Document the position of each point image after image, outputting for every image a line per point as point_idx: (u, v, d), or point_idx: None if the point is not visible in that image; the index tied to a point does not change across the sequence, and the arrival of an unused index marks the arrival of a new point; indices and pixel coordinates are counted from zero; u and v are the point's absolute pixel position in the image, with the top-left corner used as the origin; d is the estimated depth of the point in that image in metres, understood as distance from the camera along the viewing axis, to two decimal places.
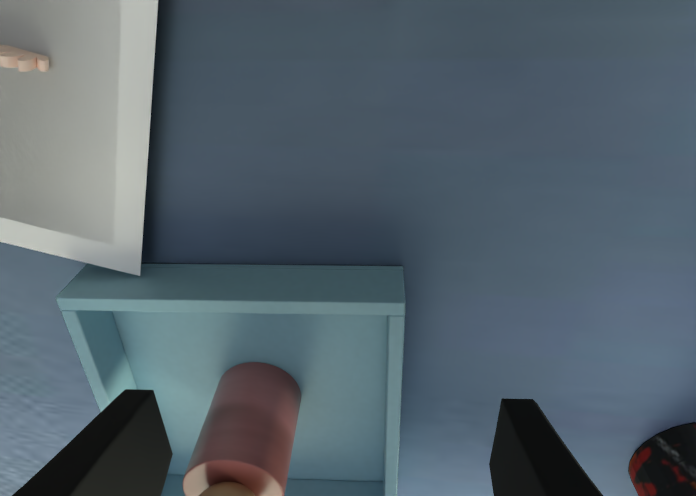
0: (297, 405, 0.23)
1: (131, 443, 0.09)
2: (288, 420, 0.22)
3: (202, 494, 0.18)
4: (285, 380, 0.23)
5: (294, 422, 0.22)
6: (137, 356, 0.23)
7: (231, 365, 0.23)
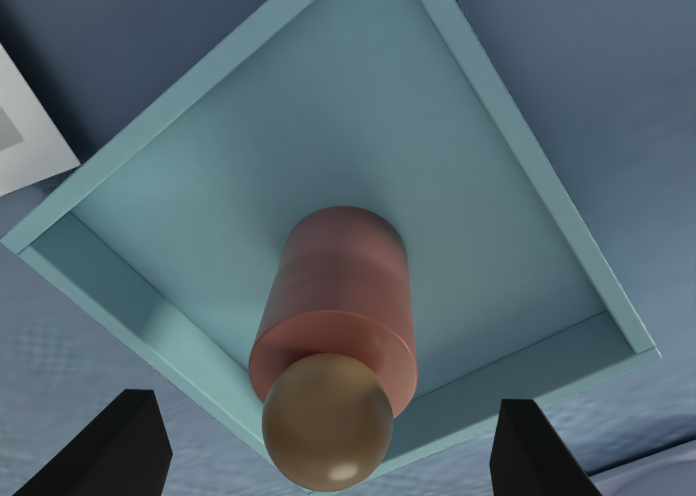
0: (391, 239, 0.15)
1: (131, 443, 0.09)
2: (375, 252, 0.13)
3: (271, 389, 0.11)
4: (355, 214, 0.15)
5: (392, 256, 0.14)
6: (180, 295, 0.17)
7: (284, 241, 0.16)
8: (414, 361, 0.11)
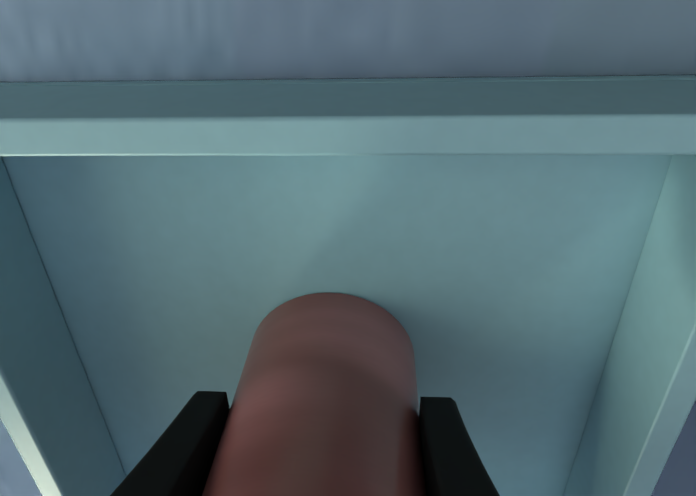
0: None
1: (211, 445, 0.09)
2: None
3: None
4: None
5: None
6: None
7: (405, 322, 0.12)
8: None
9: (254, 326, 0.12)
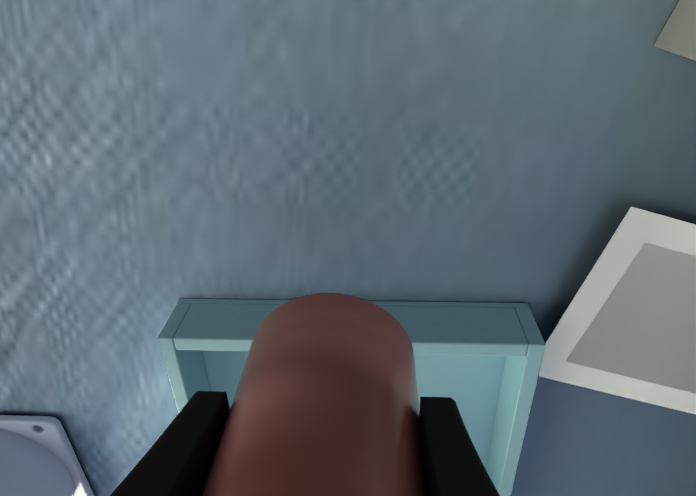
0: None
1: (211, 445, 0.09)
2: None
3: None
4: None
5: None
6: None
7: None
8: None
9: None
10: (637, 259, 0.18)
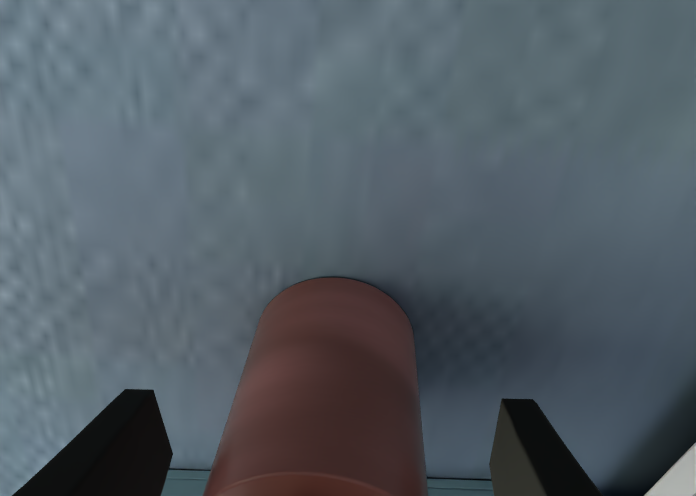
0: None
1: (131, 443, 0.09)
2: None
3: None
4: None
5: None
6: None
7: None
8: None
9: None
10: None
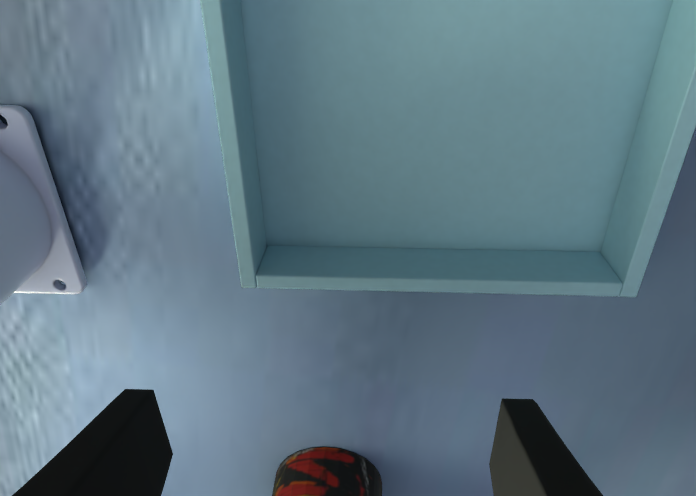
0: None
1: (131, 443, 0.09)
2: None
3: None
4: None
5: None
6: None
7: (501, 55, 0.16)
8: None
9: (388, 62, 0.16)
10: None
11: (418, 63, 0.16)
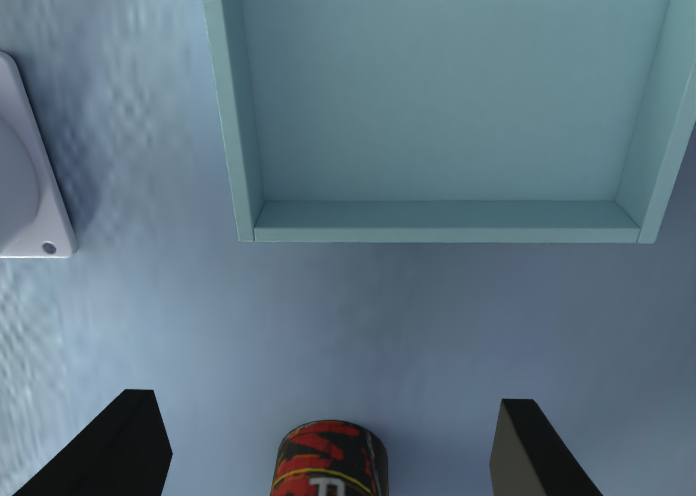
0: None
1: (131, 443, 0.09)
2: None
3: None
4: None
5: None
6: None
7: None
8: None
9: None
10: None
11: None
